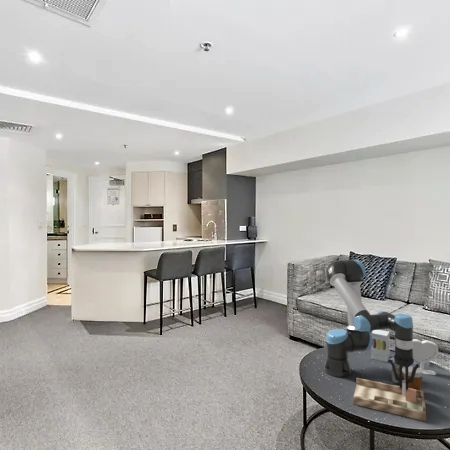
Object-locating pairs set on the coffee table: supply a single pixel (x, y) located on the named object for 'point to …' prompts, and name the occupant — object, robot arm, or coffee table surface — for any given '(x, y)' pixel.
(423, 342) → the heart sculpture
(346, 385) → the coffee table surface
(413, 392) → the terracotta block
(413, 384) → the disposable coffee cup
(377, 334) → the supplement box
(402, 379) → the mineral rock
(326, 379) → the coffee table surface
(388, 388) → the box
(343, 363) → the robot arm
